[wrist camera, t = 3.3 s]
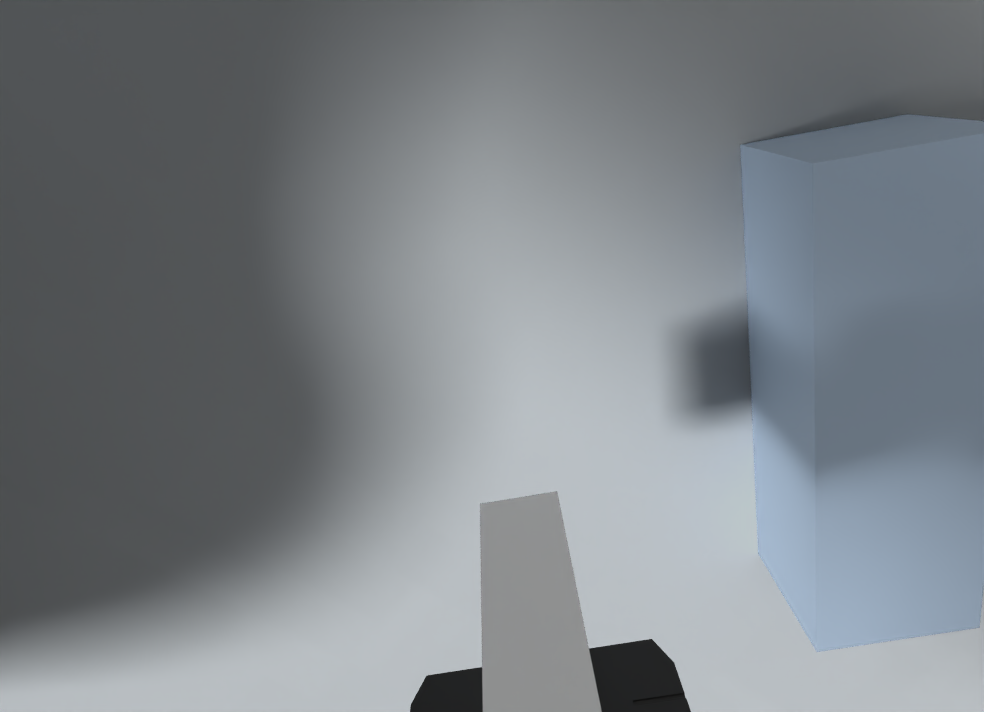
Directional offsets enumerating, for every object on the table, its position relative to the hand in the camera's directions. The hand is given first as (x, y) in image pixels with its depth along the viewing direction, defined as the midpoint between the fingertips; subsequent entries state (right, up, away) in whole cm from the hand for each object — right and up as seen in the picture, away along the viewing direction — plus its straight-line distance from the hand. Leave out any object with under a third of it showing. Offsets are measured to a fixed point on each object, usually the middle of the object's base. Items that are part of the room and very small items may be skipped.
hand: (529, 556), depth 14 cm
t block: (+11, +4, +5) cm, 13 cm away
